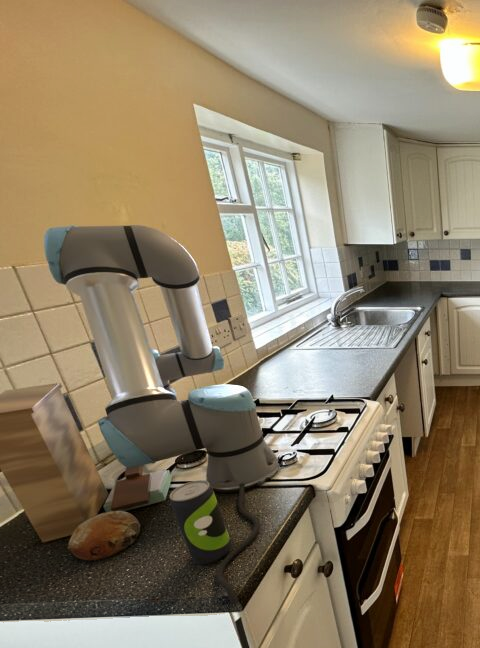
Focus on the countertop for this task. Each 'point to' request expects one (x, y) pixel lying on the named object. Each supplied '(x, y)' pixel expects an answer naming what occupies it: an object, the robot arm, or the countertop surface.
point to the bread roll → (104, 535)
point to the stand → (48, 461)
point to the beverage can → (200, 521)
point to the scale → (157, 490)
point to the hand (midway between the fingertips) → (133, 454)
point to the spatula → (131, 489)
